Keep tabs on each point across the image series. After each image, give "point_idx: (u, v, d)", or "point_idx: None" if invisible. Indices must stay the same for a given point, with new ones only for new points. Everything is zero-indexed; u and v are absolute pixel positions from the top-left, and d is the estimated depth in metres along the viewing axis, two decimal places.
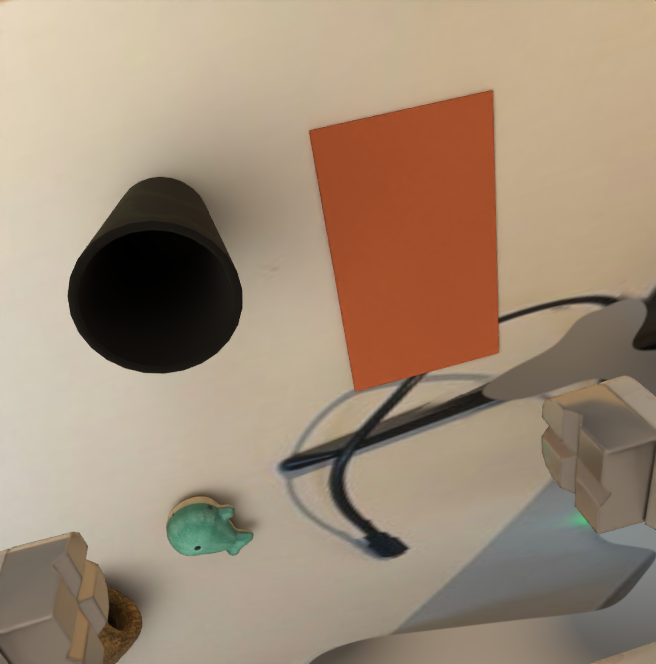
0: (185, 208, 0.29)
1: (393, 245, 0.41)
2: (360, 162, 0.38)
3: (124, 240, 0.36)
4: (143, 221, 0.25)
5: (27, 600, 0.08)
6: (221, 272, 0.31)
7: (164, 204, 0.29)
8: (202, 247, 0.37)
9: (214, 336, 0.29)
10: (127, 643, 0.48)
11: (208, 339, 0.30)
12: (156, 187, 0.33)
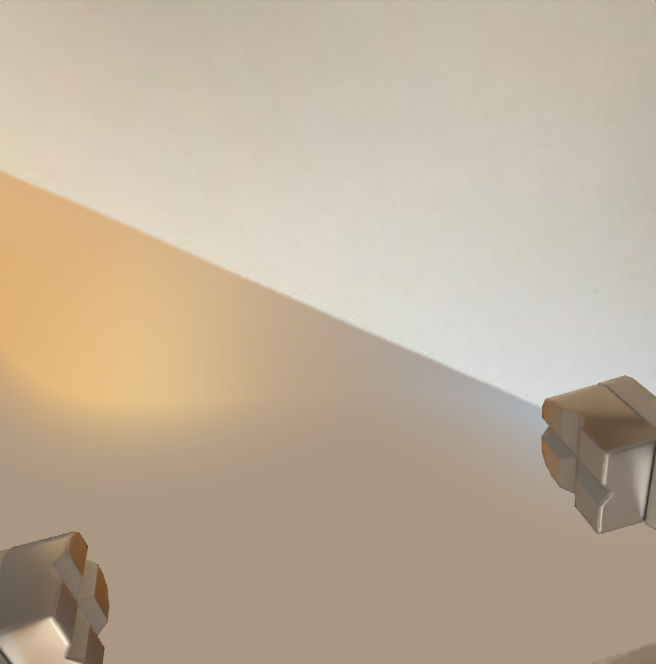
0: None
1: None
2: None
3: None
4: None
5: (27, 600, 0.08)
6: None
7: None
8: None
9: None
10: None
11: None
12: None
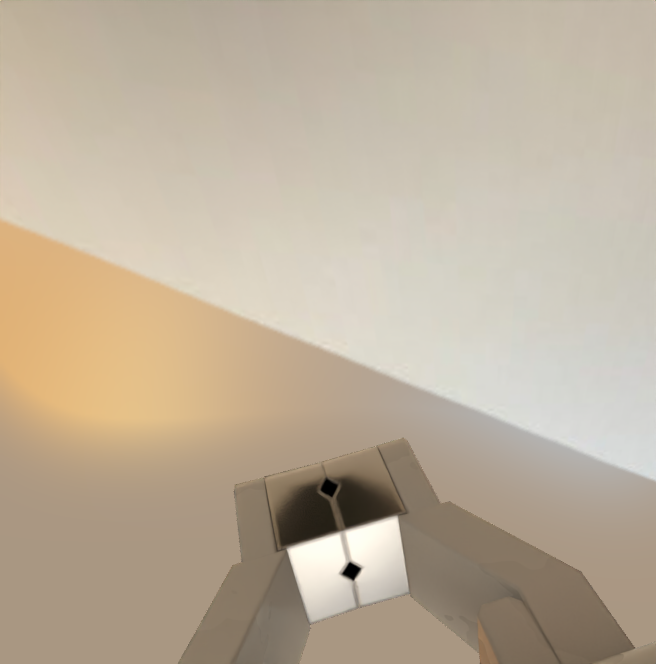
0: None
1: None
2: None
3: None
4: None
5: (309, 518, 0.09)
6: None
7: None
8: None
9: None
10: None
11: None
12: None
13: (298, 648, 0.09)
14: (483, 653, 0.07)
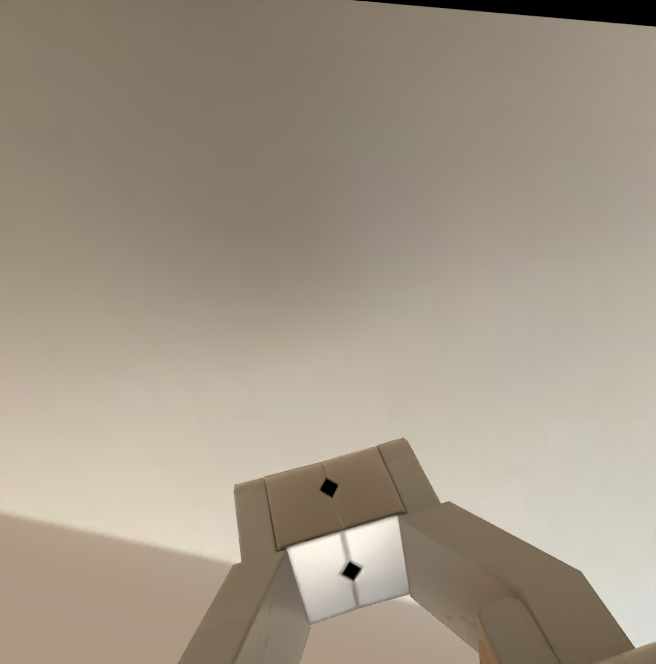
0: None
1: None
2: None
3: None
4: None
5: (309, 518, 0.09)
6: None
7: None
8: None
9: None
10: None
11: None
12: None
13: (298, 648, 0.09)
14: (483, 653, 0.07)
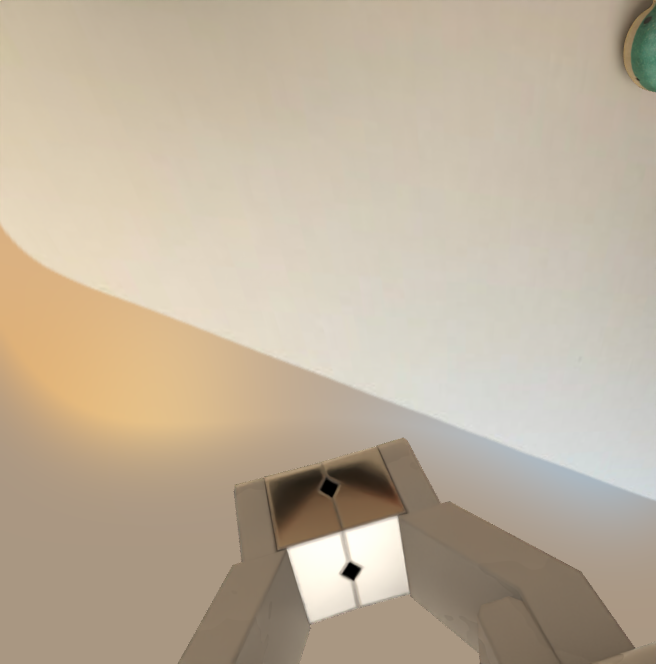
0: None
1: None
2: None
3: None
4: None
5: (309, 518, 0.09)
6: None
7: None
8: None
9: None
10: None
11: None
12: None
13: (298, 648, 0.09)
14: (483, 653, 0.07)
